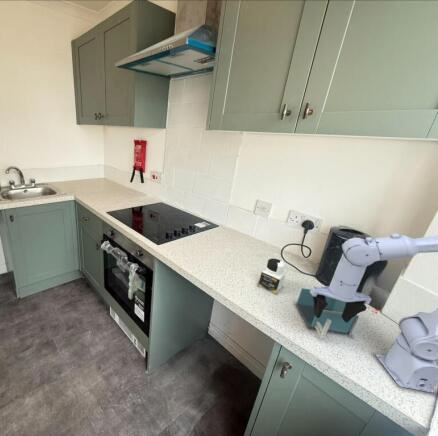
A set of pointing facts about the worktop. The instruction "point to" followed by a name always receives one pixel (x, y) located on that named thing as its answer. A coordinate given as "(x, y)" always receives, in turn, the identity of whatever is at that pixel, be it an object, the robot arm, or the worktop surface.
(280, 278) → the medicine bottle
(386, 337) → the worktop surface
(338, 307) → the teal open box
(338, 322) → the teal shelf
